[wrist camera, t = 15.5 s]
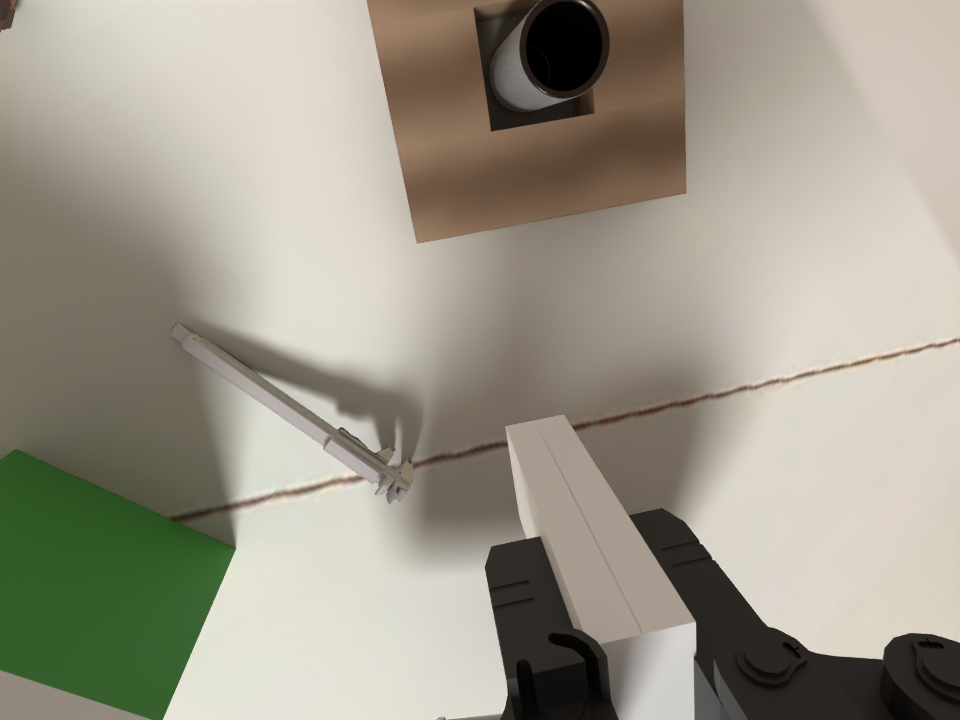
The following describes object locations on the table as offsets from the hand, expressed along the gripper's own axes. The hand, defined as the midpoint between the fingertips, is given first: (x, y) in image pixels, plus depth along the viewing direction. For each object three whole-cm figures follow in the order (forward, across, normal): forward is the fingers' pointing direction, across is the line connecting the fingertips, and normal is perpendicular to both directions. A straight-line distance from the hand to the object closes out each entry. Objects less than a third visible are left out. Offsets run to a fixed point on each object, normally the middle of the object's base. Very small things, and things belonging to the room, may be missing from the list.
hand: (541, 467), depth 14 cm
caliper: (+28, +13, +8) cm, 32 cm away
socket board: (+27, -7, -12) cm, 30 cm away
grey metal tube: (+27, -7, -12) cm, 31 cm away
